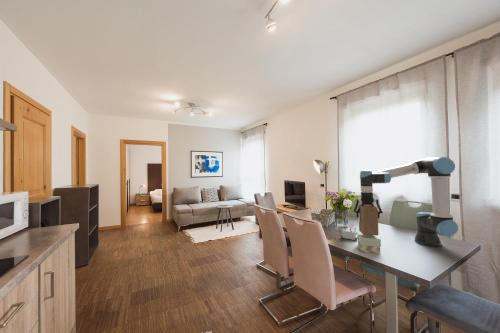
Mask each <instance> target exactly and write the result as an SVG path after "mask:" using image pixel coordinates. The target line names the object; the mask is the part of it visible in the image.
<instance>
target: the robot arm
mask: <svg viewBox="0 0 500 333" xmlns="http://www.w3.org/2000/svg"><path fill="white" fill-rule="evenodd" d="M455 169H456V165H455V162H454V161H453V160H452V158H450V157H446V156H435V157H425V158H421V159H419V160H415V161H411V162H409V163H408V164H404V165H399V166H395V167H391V168H389V167H388V168H386V169H385V168H384V169H382V170H381V169H380V170H377V171H372V170H361V171H360V172H359V178H360V179H359V180H360V191H361V192H360V198H356V199H355V200H356V201H355V202H356V203H355V205H354V209H353V212H354V213H356V218H358V219H357V220H358V223H359V222H360V213H359V211H360V207H359V208H358V205H359V203H360V202H361V203H360V205H361V206H364V205H371V206H375V205H374V204H373V203H374V202H375V203H376V207H377V211H378V219H380V215H381V214H383V211H382V208H381V205H380V203H379V199H377V198H376V199H374V193H373V191H374V190H373V189H374V188H373V186H374V185H373V184H389V183H391V180H392V179H394V178H398V177H402V176H407V175H412V174H414V175H417V174H418V175H419V174H427V177H428V178H429V179H430V182H431V184H430V186H431V201H432V202H431V203H432V204H431V205H432V207H431V209H432V212H429V211H428V212H425V211H423V212H422V211H420V212H416V217H415V218H416V233H415V236H414V242H416V243H417V244H420V245H423V246H427V247H440V246H442V241H441V238H440V236H442V237H446V238H449V237H453V236H454V235H455V234H457V233H458V231H459V224H458V223H457V222H456V221H454V217H453V215H452V214H450V213H451V212H450V200H449V198H450V196H449V180H448V179H449V178H451V176H452V175H451V174H452V173H453V172H454V171H455Z"/></svg>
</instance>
